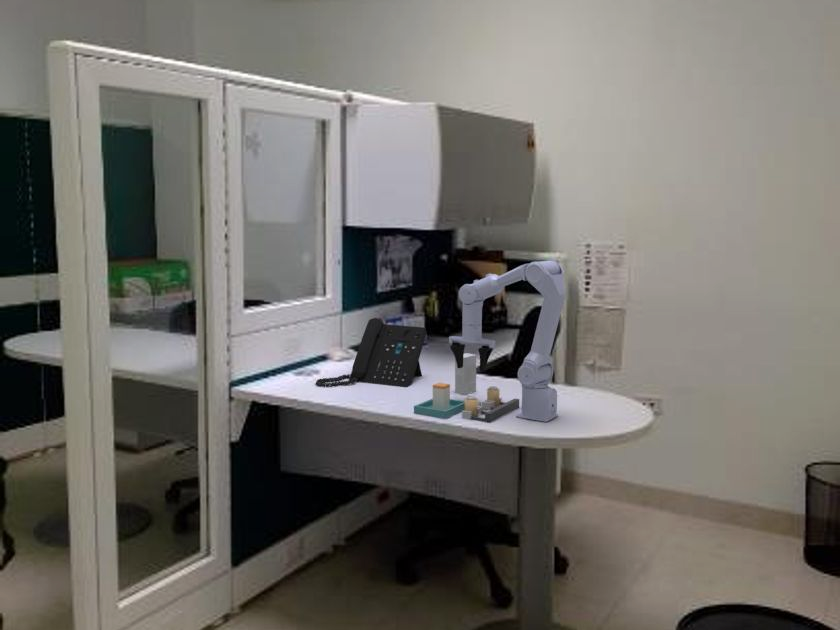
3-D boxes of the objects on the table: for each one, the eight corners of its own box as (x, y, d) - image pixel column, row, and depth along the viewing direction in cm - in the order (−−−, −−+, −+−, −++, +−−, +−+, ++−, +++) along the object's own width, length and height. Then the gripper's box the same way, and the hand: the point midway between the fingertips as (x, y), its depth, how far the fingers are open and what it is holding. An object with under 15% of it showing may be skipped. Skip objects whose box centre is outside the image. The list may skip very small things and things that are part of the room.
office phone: (310, 386, 260) (309, 325, 257) (352, 369, 286) (352, 314, 283) (391, 396, 248) (391, 332, 245) (427, 377, 274) (427, 319, 271)
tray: (467, 408, 232) (467, 401, 232) (445, 418, 222) (445, 411, 222) (436, 403, 238) (436, 396, 238) (413, 413, 227) (413, 406, 227)
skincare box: (465, 389, 256) (466, 352, 254) (476, 391, 253) (476, 354, 251) (454, 392, 251) (454, 355, 250) (465, 395, 249) (465, 357, 247)
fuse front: (479, 416, 225) (479, 396, 224) (473, 418, 222) (473, 399, 221) (468, 414, 227) (468, 394, 226) (462, 417, 224) (462, 397, 223)
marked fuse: (449, 408, 230) (449, 384, 229) (443, 411, 227) (443, 386, 226) (438, 406, 232) (439, 382, 231) (432, 409, 229) (432, 385, 228)
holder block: (519, 407, 234) (519, 399, 234) (489, 422, 218) (489, 413, 218) (492, 403, 239) (493, 395, 238) (462, 417, 223) (462, 409, 223)
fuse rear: (501, 405, 236) (501, 386, 236) (495, 408, 233) (496, 389, 233) (490, 403, 238) (490, 385, 238) (484, 406, 235) (485, 387, 235)
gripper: (500, 324, 235) (499, 369, 237) (457, 320, 242) (456, 364, 244) (489, 327, 229) (488, 374, 231) (445, 323, 237) (445, 368, 239)
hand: (471, 369), depth 237 cm, fingers open, 7 cm apart
